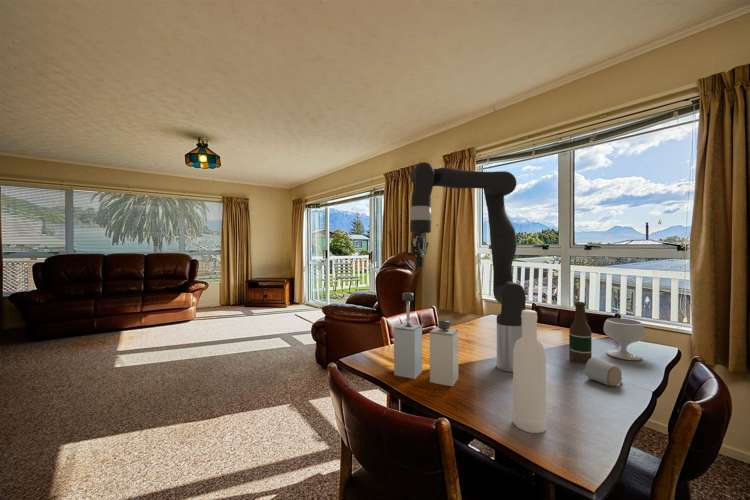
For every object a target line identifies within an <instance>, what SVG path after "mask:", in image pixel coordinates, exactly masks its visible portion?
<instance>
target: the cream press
mask: <svg viewBox="0 0 750 500" xmlns="http://www.w3.org/2000/svg"><path fill="white" fill-rule="evenodd" d="M458 379H459V328H452V327H450V329H446V332H444V331H442V329H440V328H438V326H435V327H434V328H432V329H431V330H430V331H429V383H433V384H437V385H438V384H439V385H442V386H443V385H444V386H447V387H448V386H449V387H452V388H453V387H454V386H455V384H456V382H457V380H458Z"/></svg>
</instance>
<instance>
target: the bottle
mask: <svg viewBox="0 0 750 500" xmlns="http://www.w3.org/2000/svg"><path fill="white" fill-rule="evenodd" d="M521 318H522V337H521V338H519V339H518V340H517V341H516V343H515V345H514V348H513V372H512V385H513V386H512V396H513V397H512V399H513V403H512V418H513V420H512V421H513V422H512V423H513V424H514V426H516V427H517V428H518V429H519V430H522V431H523V432H526V433H530V434H540V433H541V434H542V433H544V432H545V431H546V430H547V352H546V349H545V348H546V347H545V346H544V344H543V342H541V341H540V340H539V339H538V312H537V311H536V310H531V309H525V310H523V311H522V314H521Z"/></svg>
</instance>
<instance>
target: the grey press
mask: <svg viewBox="0 0 750 500" xmlns="http://www.w3.org/2000/svg"><path fill="white" fill-rule="evenodd" d="M422 372H423V325H422V324H417V323H416V324H415V323H410V327H407V322H401V323H399V324H397V325H396V326H394V327H393V375H394V376H398V377H401V378H409V379H413V380H415V379H416V378H418V376H420V374H421V373H422Z"/></svg>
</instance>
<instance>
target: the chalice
mask: <svg viewBox="0 0 750 500" xmlns="http://www.w3.org/2000/svg"><path fill="white" fill-rule="evenodd" d="M603 333H605V335H606V336H607V337H609V338H610V339H611V340H613V341H615V342H617V343H618V345H620V349H619V350H615V349H610V350H607V351H605V353H606V355H608V356H610V357H612V358H616V359H621V360H625V361H641V360H642V359H643V357H642V356H641V355H639V354H636V353H634V352H629V351H628V349H627V347H628V346H629V345H631V344H633V343H637V342H641V341H642V340H644V338H645V337H646V330H645V327H644V325H643V323H642V322H641V321H639V320H636V319H635V320H634V319H630V318H622V317H620V318H619V317H608V318H607V319H606V320H605V321H604V324H603ZM633 354H635V355H636V356H635V357H633ZM631 356H632V357H631Z"/></svg>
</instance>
